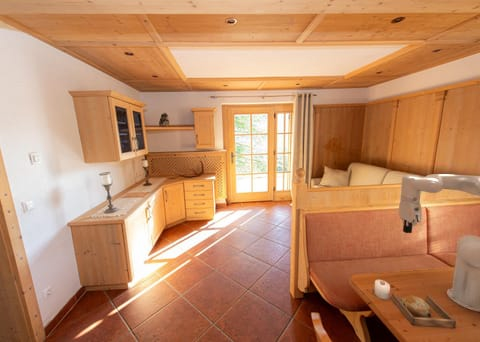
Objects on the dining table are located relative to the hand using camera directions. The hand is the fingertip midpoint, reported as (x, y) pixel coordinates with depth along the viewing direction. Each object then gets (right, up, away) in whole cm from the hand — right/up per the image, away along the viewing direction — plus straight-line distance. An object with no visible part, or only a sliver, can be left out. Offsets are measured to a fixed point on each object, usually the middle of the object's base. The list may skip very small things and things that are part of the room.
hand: (407, 232), depth 103 cm
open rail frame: (-8, -30, -16) cm, 35 cm away
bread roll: (-10, -31, -15) cm, 36 cm away
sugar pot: (-18, -29, -6) cm, 35 cm away
